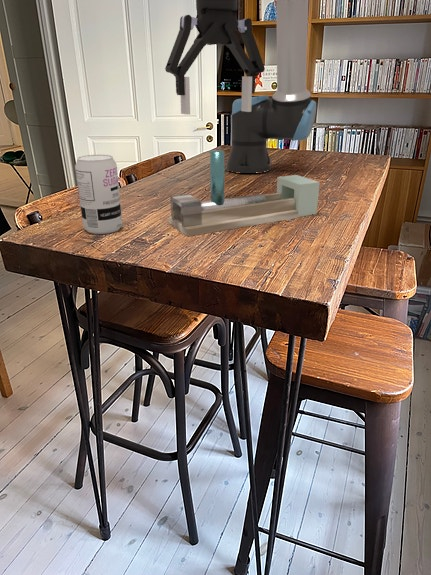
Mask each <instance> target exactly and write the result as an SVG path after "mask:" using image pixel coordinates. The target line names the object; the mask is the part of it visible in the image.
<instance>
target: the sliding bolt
mask: <svg viewBox="0 0 431 575" xmlns="http://www.w3.org/2000/svg"><path fill="white" fill-rule="evenodd" d="M209 154H210V155H209V162H210V163H209V165H210V166H209V168H210V169H209V170H210V171H209V172H210V174H209V176H210V187H209V188H210V200H205V201H201V206H202V211H207V210H213V209H220V208H227V207H234V206H241V205H248V204H255V203H262V202H266V198H265V196H264V194H263V193H258V194H252V195H243V196H237V197H235V196H234V197H230V198H225V169H226V166H225V165H226V163H225V156H226V155H225V154H226V153H225V150H224V149H223V150H221V149H217V150H216V149H213V150H210V151H209ZM179 216H180V219H181V220H182V213H181V207H180V206H179Z"/></svg>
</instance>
